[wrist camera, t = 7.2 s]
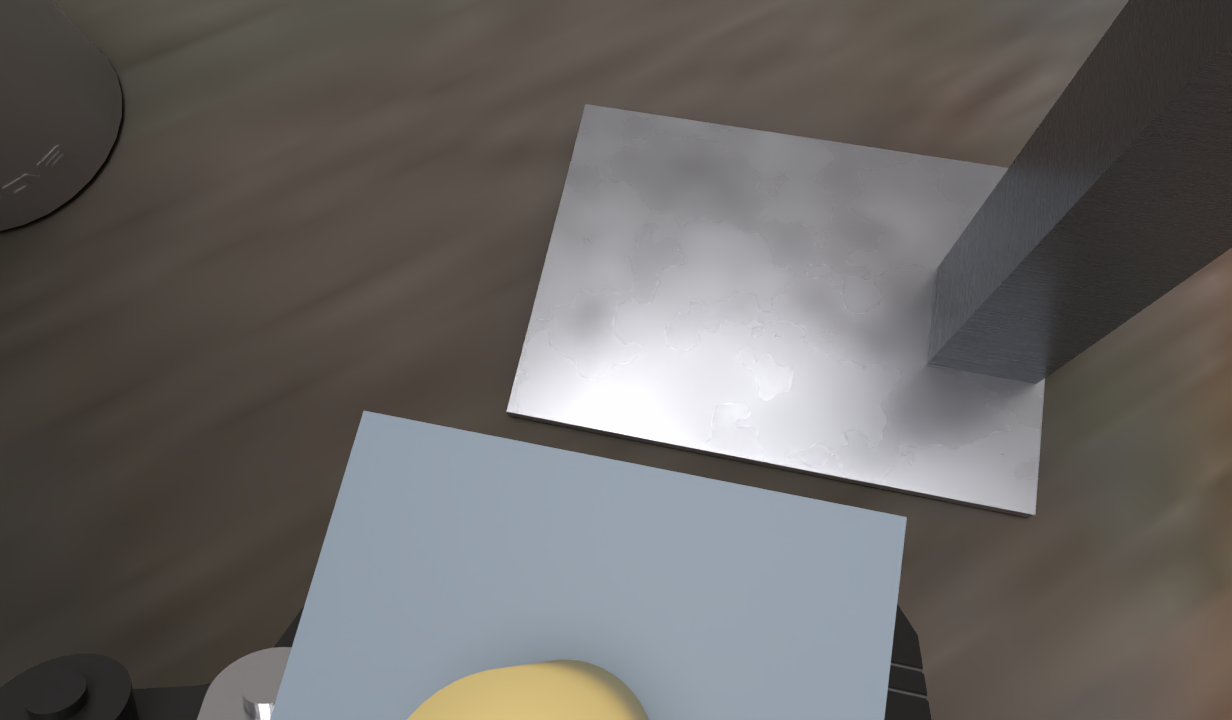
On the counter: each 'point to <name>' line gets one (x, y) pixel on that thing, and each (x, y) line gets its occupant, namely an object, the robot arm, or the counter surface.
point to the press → (879, 273)
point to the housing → (584, 591)
